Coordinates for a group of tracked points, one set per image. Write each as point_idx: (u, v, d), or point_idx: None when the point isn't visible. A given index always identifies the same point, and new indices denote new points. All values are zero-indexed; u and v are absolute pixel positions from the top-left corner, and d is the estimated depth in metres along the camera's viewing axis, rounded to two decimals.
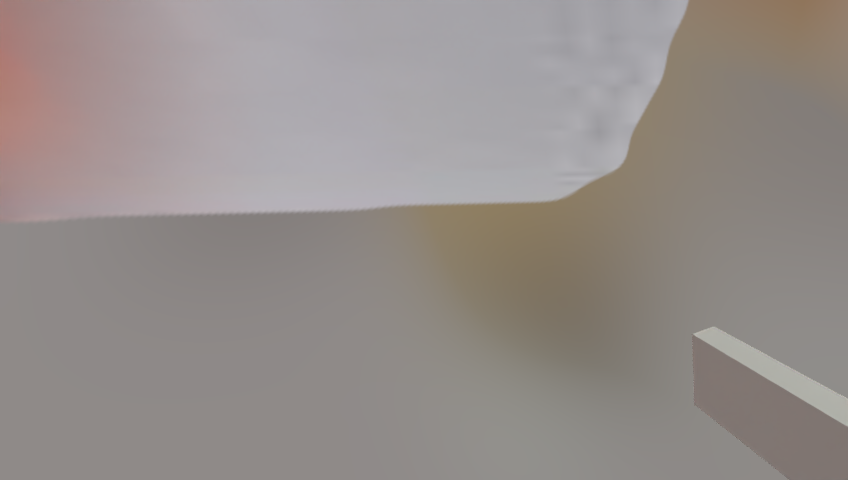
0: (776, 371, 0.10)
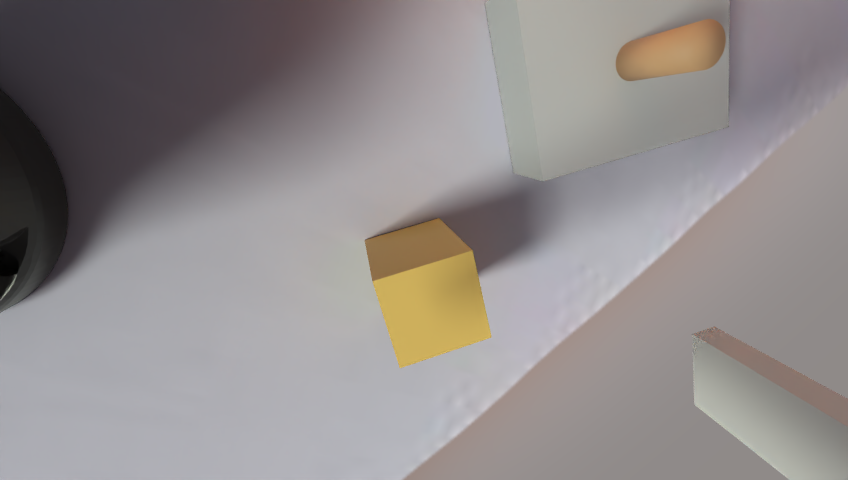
0: (776, 371, 0.10)
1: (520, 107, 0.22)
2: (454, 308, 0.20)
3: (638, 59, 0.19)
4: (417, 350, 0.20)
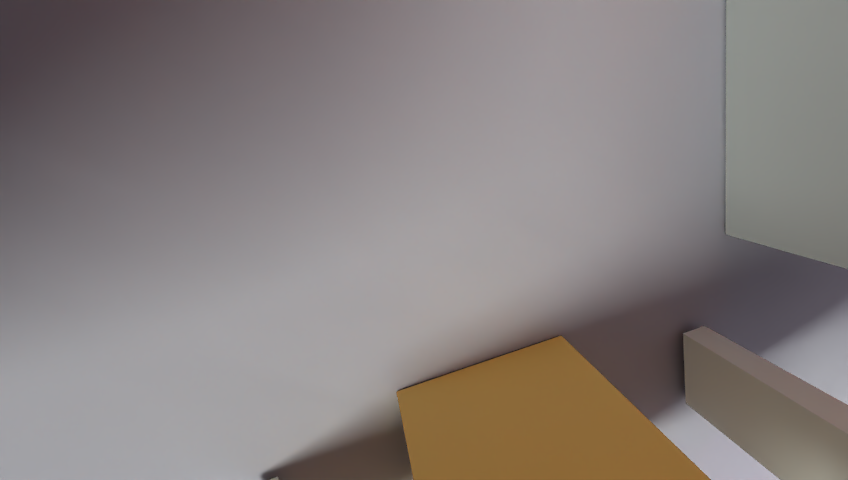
0: (764, 370, 0.10)
1: (847, 79, 0.08)
2: None
3: None
4: None
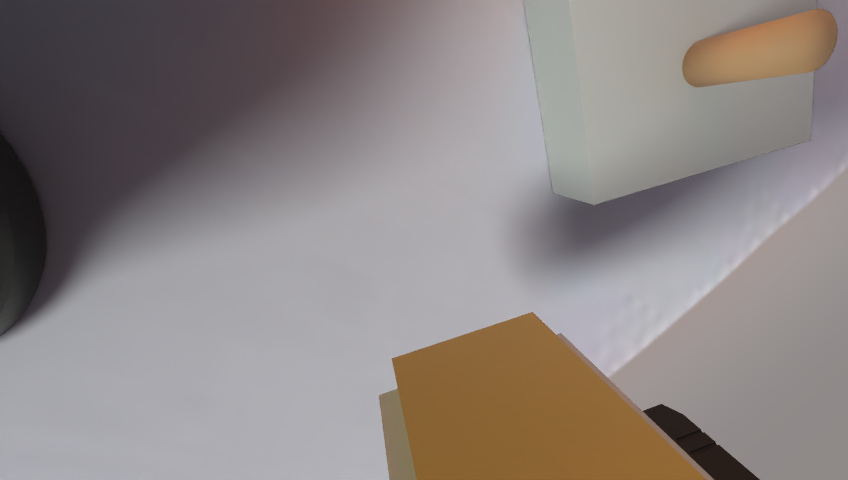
0: None
1: (567, 119, 0.19)
2: None
3: (716, 61, 0.16)
4: None
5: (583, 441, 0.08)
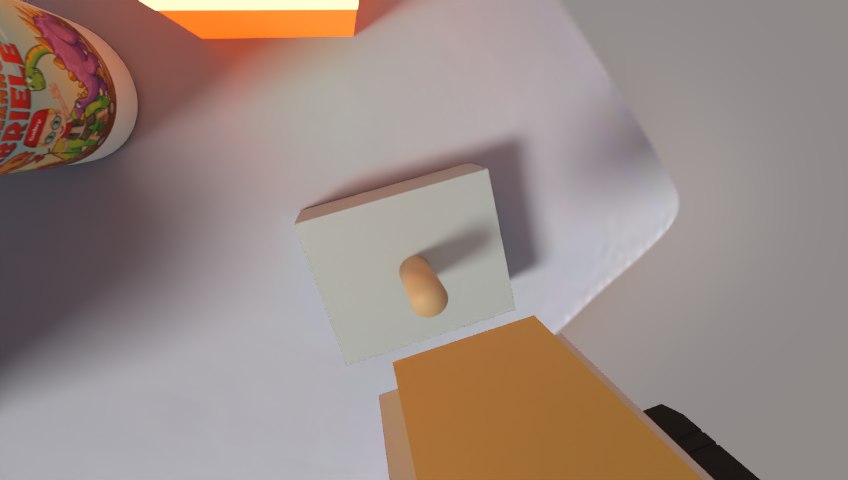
0: None
1: None
2: None
3: (403, 285, 0.23)
4: None
5: (585, 447, 0.08)
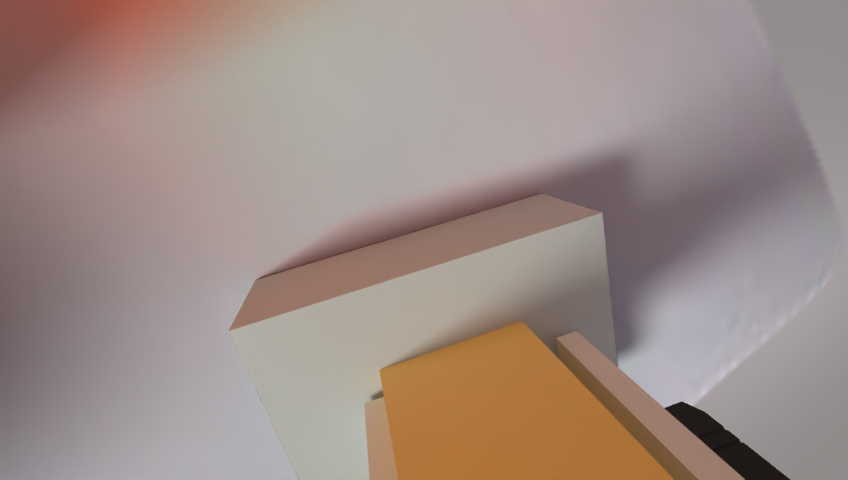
0: (606, 371, 0.11)
1: None
2: None
3: None
4: None
5: (572, 461, 0.08)
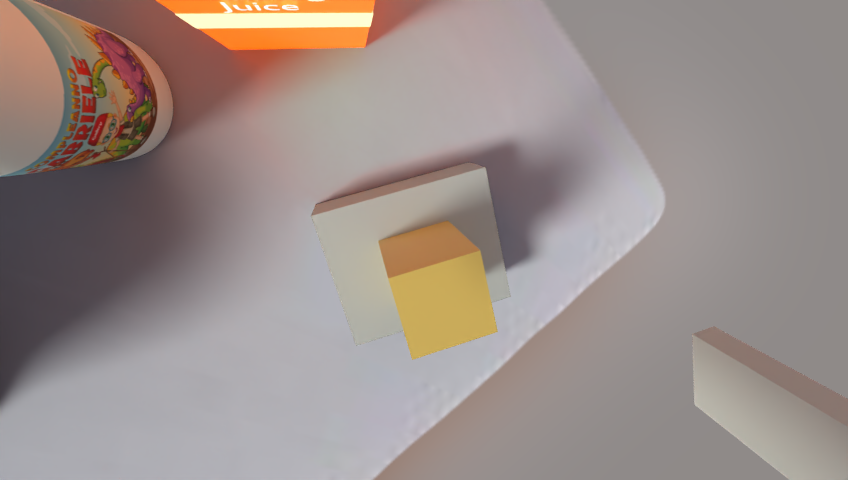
0: (776, 371, 0.10)
1: None
2: (463, 304, 0.21)
3: None
4: (428, 343, 0.21)
5: (446, 248, 0.22)
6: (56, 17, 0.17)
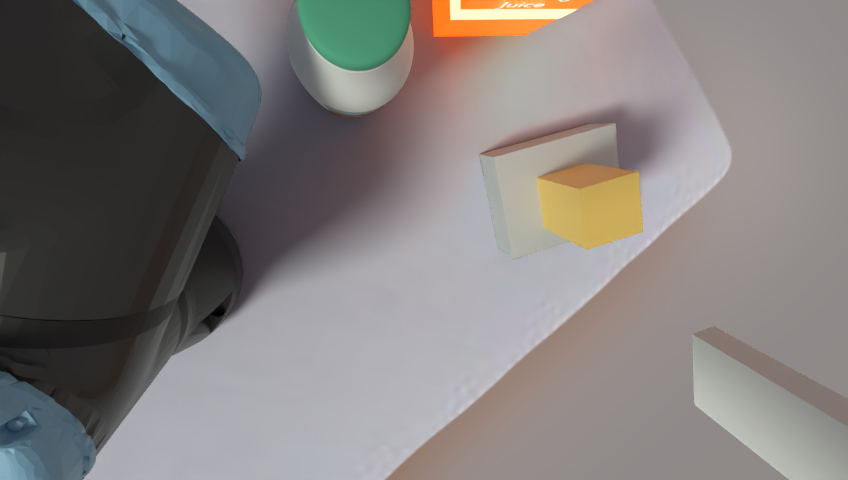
0: (776, 371, 0.10)
1: (500, 216, 0.38)
2: (623, 210, 0.31)
3: None
4: (598, 238, 0.31)
5: (607, 173, 0.32)
6: None
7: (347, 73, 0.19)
